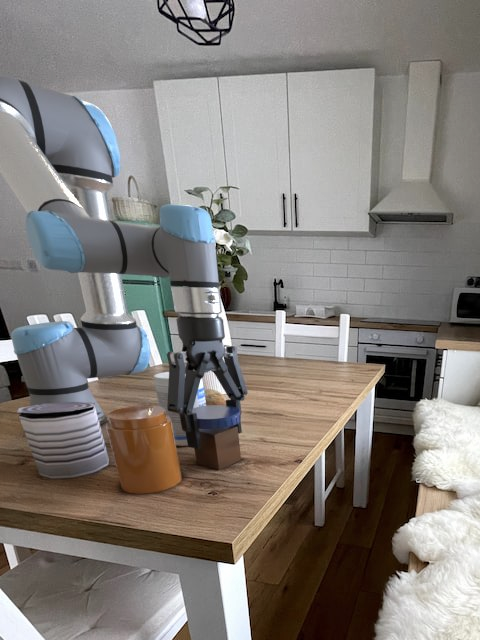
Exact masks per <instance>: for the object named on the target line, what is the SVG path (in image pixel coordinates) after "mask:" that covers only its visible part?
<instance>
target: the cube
mask: <svg viewBox="0 0 480 640" xmlns="http://www.w3.org/2000/svg"><path fill="white" fill-rule="evenodd" d="M199 433H200V440H201V446H202V448H201V449H196V448H193V450H194V456H195V461H196V462H195V463H196V464H197V465H200V466H204V467H207V468H210V469H215V470H217V471H220V470H222V469H224V468H227V467H229V466H231V465H233V464H235V463H237V462H240V461H241V460H242V454H241V444H240V436H239V433H238V427H236V426H230V427H226V428H220V429H199Z"/></svg>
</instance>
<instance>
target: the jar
mask: <svg viewBox="0 0 480 640" xmlns="http://www.w3.org/2000/svg"><path fill="white" fill-rule="evenodd" d="M106 420H108V421H107V422H106V424H105V428H106V432H107V436H108V440H109V444H110V447H111V451H112V456H113V459H114V463H115V467H116V472H117V475H118V479H119V483H120V487H121V489H122V490H123V491H124V492H126V493H130V494H138V495H143V494H144V495H145V494H154V493H158V492H162V491H166V490H168V489H171V488H173V487H175V486H176V485H179V483H180V482H181V481H182V479H183V476H182V471H181V466H180V460H179V455H178V450H177V445H176V443H175V438H174V433H173V427H172V422H171V418H170V417H169V416H166V411H165V409H164V408H162V407H159V405H134V406H128V407H122V408H117V409H114V410H112V411H110V412H109V413H108V414H107V417H106Z"/></svg>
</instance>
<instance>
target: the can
mask: <svg viewBox="0 0 480 640" xmlns="http://www.w3.org/2000/svg"><path fill="white" fill-rule="evenodd" d="M15 413H19V415H18V417H19V421H20V423H21V427H22V430H23V432H24V435H25V437H26V440H27V444H28V446H29V449H30V452H31V454H32V457H33V460H34V463H35V466H36V469H37V472H38V474H39V476H42V477H44V478H48V479H50V480H56V479H57V480H58V479H73V478H78V477H82V476H86V475H90V474H95V473H96V472H99V471H100V470H102V469H104V468H106V467H107V466H109V461H110V458H109V454H108V450H107V446H106V442H105V439H104V436H103V432H102V428H101V425H100V424H99V420H98V416H97V412H96V409H95V403H85V402H66V403H50V404H40V405H34V406H30V405H29V406H23V407H19V408H18V409H17V410H16V411H15Z"/></svg>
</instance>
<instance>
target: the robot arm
mask: <svg viewBox="0 0 480 640" xmlns="http://www.w3.org/2000/svg"><path fill="white" fill-rule="evenodd" d="M120 172H121V153H120V149H119V145H118V140H117V137H116V134H115V131H114V129H113V127H112V124H111V123H110V120H109V119H108V118H107V116H106V114H105V113H104V112H103V111H102V110H101V108H99V107H98V106H97V105H96V104H94V103H91V102H88V101H86V100H83V99H81V98H79V97H77V96H76V95H70V94H67V93H64V92H60V91H57V90H53V89H50V88H46V87H43V86H40V85H36V84H33V83H31V82H27V81H23V80H21V79H20V80H19V79H17V78H15V77H11V76H8V75H3V74H0V174H1V175H2V177H3V179H4V180H5V181H6V183H7V184H8V186H9V187H10V188H11V191H12V192H13V193H14V195H15V196H16V198H17V199H18V201H19V202H20V204H21V205H22V207H23V208H24V209H25V211H26V215H25V229H26V234H27V238H28V242H29V245H30V248H31V249H32V252H33V255H34V257H35V259H36V260H37V263H39V264H40V265H41V266H42V267H44V268H45V269H48V270H50V271H51V270H52V271H61V272H67V273H70V274H77V275H78V280H79V284H80V288H81V293H82V298H83V303H84V307H85V312H84V313H83V314H82V315H81V317H80V322H81V327H75V326H74V324H72V322H70V321H68V320H67V321H65V320H63V321H62V320H61V321H49V322H40V323H33V324H30V325H28V324H27V325H24V326H23V325H22V326H19V327H16V328H15V329H13V330H12V332H11V334H10V338H11V342H12V345H13V353H14V354H15V355H16V358H17V361H18V364H19V367H20V370H21V374H22V376H23V378H24V382H25V385H26V388H27V391H28V394H29V406H34V405H40V404H50V403H66V402H85V403H95V409H96V412H97V416H98V420H99V424H100V426H102V425H103V424H105V423H107V422H106V421H107V417H106V415H105V412H104V411H103V409H102V407H101V406H100V404H99V403H98V401H97V400H96V398H95V397H94V395H93V393H92V392H91V390H90V387H89V384H88V379H96V378H97V379H98V378H104V377H106V378H107V377H114V376H124V375H125V376H130V375H133V374H138V373H142V372H144V371H145V370H146V369H147V368H148V366H149V363H150V359H151V344H150V340H149V338H148V334H147V332H146V330H145V329H144V328H143V327H142V326H141V325H138V323H137V319H136V318H135V317H133V315H131V314H130V313H129V311H128V306H127V301H126V300H127V299H126V294H125V289H124V283H123V277H122V275H130V276H148V277H153V278H163V279H165V278H169V283H170V290H171V295H172V303H173V309H174V312H175V313H176V314H178V316H177V318H176V319H175V320H176V325H177V326H176V327H177V332H178V338H179V339H180V341H181V342H182V348H181V350H180V351H167V353H166V358H167V362H168V367H169V368H168V370H169V371H168V372H169V384H168V403H167V409H168V411H171V412H175V413H178V414H179V415H180V420H181V425H182V430H183V431H185V432H186V437H187V443H188V446H187V447H189V448H192V449H194V448H196V449H201V448H202V446H201V440H200V433H199V427H198V420H197V414H196V413H192V410H193V407H194V403H195V399H196V395H197V392H198V388H199V384H200V380H201V378H202V379H203V378H204V377H205V373H209V372H212V373H213V374H214V375H215V378H216V379H217V381H218V382H219V384H220V386H221V387H222V389H223V391H224V392H225V394H226V397H227V398H228V399H227V400H226V405H227V406H233V407H236V408H238V409H239V410H240V414H241V415H242V404H241V402H243V401H245V398H246V397H245V396H247V395H248V389H247V386H246V382H245V379H244V375H243V372H242V368H241V365H240V361H239V359H238V347H237V346H236V345H229V344H224V343H223V340H224V339H225V338H226V333H225V325H224V319H223V318H222V317H221V316H220V314H221V313H223V309H222V299H221V291H220V284H219V283H220V281H219V272H218V261H217V249H216V237H215V235H214V231H213V230H214V229H213V224H212V217H211V215H210V213H209V212H208V211H207V210H206V209H204V208H201V207H198V206H195V205H189V204H178V203H177V204H176V203H169V204H163V205H162V206H161V207H160V209H159V225H158V226H153V225H145V224H138V223H131V222H122V221H117V220H116V221H115V220H112V215H111V210H110V209H111V208H110V204H109V198H108V197H109V196H108V193H109V192H110V190H111V189H112V188H113V187H114V181H113V179H114V178H117V177H118V176H119V174H120ZM185 374H186V376H185ZM185 405H186V407H185ZM233 426H236V427H238V435H239V434H242V433H243V430H242V421H240V422H239V423H238V424H236V425H233Z"/></svg>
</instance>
